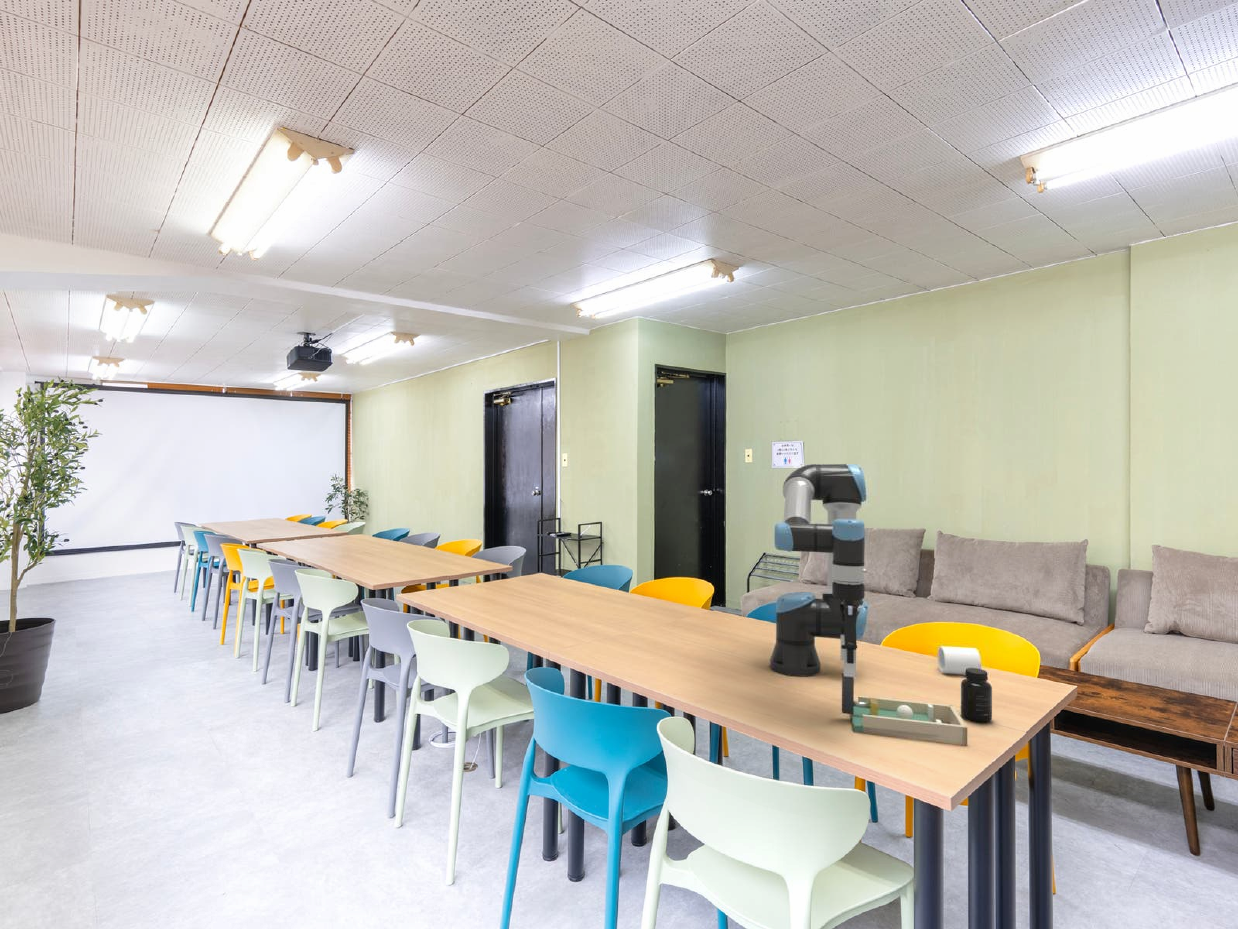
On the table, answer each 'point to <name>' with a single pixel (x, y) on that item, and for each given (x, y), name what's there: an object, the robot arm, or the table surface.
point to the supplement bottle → (976, 696)
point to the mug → (957, 659)
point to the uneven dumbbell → (848, 698)
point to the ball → (904, 712)
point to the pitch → (911, 721)
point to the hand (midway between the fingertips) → (847, 668)
